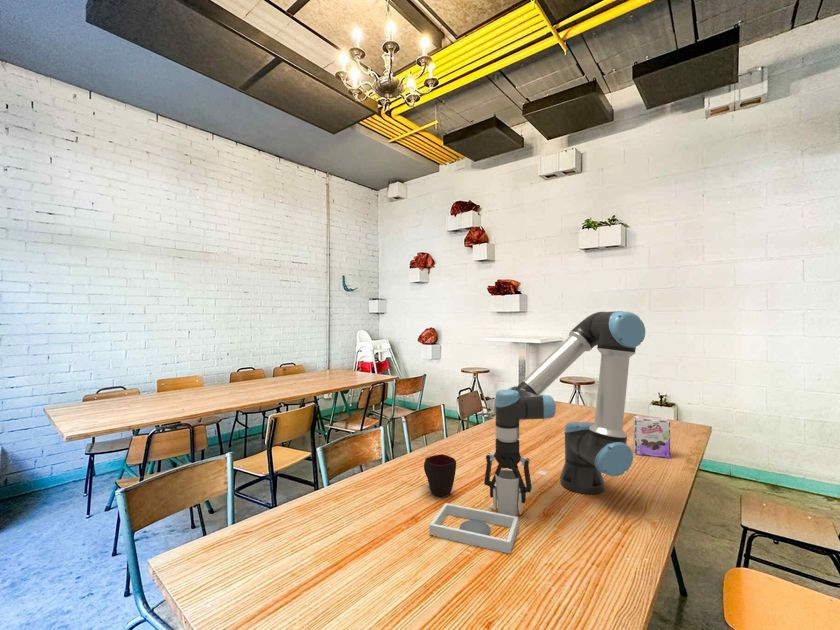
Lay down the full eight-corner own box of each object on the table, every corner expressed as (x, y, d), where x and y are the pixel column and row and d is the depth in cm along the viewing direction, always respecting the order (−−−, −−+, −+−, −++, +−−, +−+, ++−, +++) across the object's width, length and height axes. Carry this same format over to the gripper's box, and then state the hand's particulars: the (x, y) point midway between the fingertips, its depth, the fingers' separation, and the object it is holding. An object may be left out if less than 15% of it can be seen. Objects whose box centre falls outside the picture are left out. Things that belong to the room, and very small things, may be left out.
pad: (493, 525, 116) (493, 523, 116) (486, 541, 108) (486, 539, 108) (464, 519, 120) (464, 517, 120) (455, 534, 111) (455, 532, 111)
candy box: (635, 454, 174) (634, 418, 175) (633, 450, 180) (632, 415, 180) (670, 459, 169) (670, 421, 169) (667, 454, 175) (667, 418, 175)
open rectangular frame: (518, 527, 115) (518, 517, 115) (510, 553, 102) (510, 542, 102) (445, 512, 124) (445, 503, 124) (429, 535, 111) (429, 524, 111)
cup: (521, 519, 120) (521, 480, 120) (495, 516, 121) (494, 478, 121) (519, 506, 127) (519, 470, 127) (495, 504, 129) (495, 468, 129)
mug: (437, 502, 130) (437, 467, 131) (415, 487, 142) (415, 455, 142) (460, 495, 136) (460, 461, 136) (437, 481, 148) (436, 450, 148)
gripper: (541, 439, 124) (541, 510, 124) (479, 432, 132) (479, 499, 132) (538, 446, 117) (539, 521, 117) (473, 438, 125) (474, 509, 125)
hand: (507, 509), depth 124 cm, fingers closed on cup, 7 cm apart
